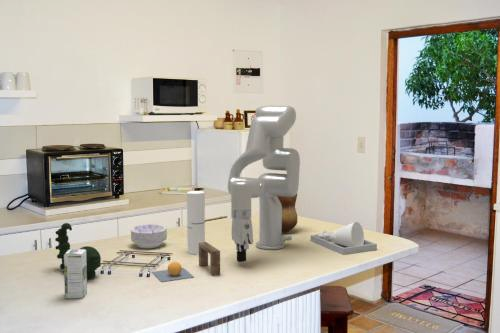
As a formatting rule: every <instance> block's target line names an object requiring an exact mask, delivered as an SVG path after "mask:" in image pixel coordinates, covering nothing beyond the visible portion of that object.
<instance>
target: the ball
mask: <svg viewBox="0 0 500 333" xmlns="http://www.w3.org/2000/svg"><path fill="white" fill-rule="evenodd" d="M182 268H183V267H182V264H181V263H180V262H178V261H171V262H170V263H169V264H168V266H167V270H168V272H169V274H170V275H172V276H177V275H179V274H180V273H181V270H182Z"/></svg>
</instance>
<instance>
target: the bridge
mask: <svg viewBox="0 0 500 333" xmlns="http://www.w3.org/2000/svg"><path fill="white" fill-rule="evenodd" d="M209 256H210V258H209ZM209 260H210V261H209ZM209 263H210V266H209ZM198 266H199V267H209V268H210V275H211V276H212V277H213V276H219V275H221V250H219V249H218V248H217V247H215V246H213V245H212V244H210V243H209V242H207V241H205V242H201V243H199V254H198Z"/></svg>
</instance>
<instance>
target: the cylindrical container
mask: <svg viewBox="0 0 500 333" xmlns="http://www.w3.org/2000/svg"><path fill="white" fill-rule="evenodd" d="M205 199H206V198H205V191H202V190H190V191H187V192H186V207H187V208H186V217H187V218H186V221H187V223H186V224H187V225H186V226H187V230H186V231H187V233H186V234H187V235H186V236H187V253H188V254H190V255H199V243H201V242H206V231H205V228H206V226H205V224H206V223H205V222H206V216H205V215H206V214H205V211H206V210H205V208H206V207H205Z"/></svg>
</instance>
